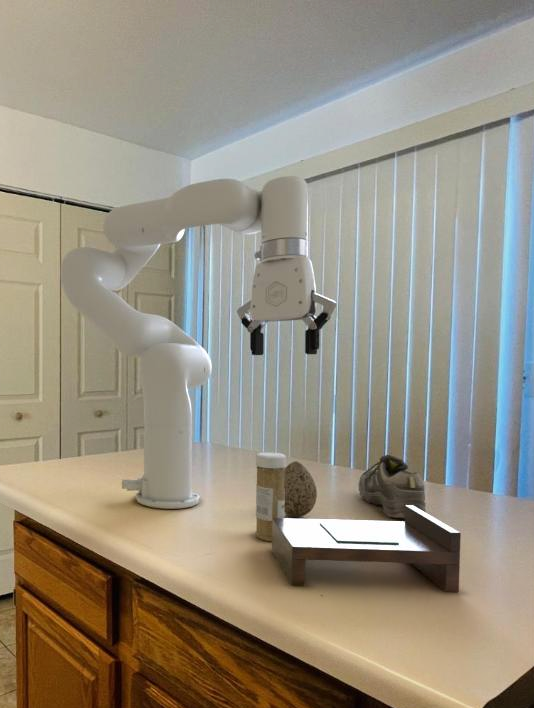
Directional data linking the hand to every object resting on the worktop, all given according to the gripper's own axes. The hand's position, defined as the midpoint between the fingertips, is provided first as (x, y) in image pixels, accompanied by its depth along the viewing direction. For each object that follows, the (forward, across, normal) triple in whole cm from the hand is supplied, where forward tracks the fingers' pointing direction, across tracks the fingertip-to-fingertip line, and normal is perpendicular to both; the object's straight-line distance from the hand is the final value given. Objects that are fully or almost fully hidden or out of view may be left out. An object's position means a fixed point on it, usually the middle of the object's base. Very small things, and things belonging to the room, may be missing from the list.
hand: (283, 354), depth 90 cm
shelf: (+30, +16, -12) cm, 36 cm away
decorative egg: (+30, 0, +5) cm, 30 cm away
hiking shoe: (+30, +11, +24) cm, 40 cm away
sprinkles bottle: (+30, +2, -8) cm, 31 cm away
